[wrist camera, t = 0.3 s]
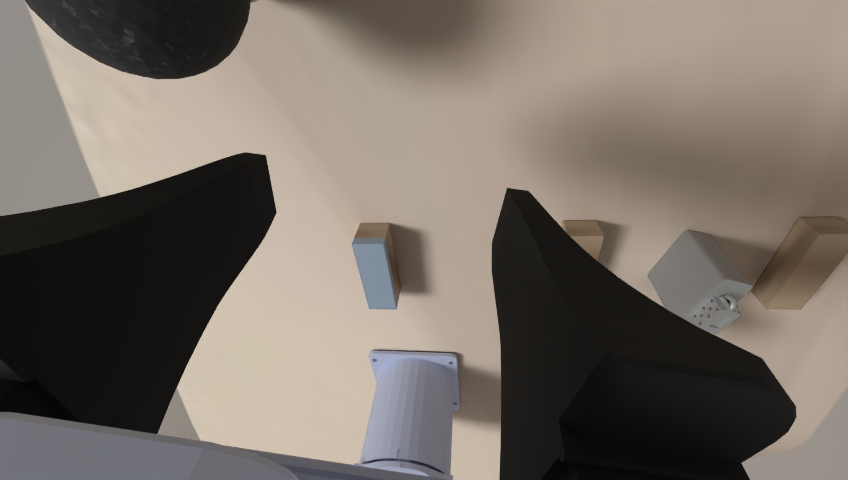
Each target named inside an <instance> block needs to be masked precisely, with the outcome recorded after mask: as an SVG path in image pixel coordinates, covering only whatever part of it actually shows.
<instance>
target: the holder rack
mask: <svg viewBox="0 0 848 480" xmlns="http://www.w3.org/2000/svg"><path fill="white" fill-rule="evenodd" d="M562 228H563V230H564V231H565V232H566V233H567V234H568V235H569V236H570V237H571V238H572V239H573V240H574V241H576V242H577V243H578V244H579V245H580V246H581V247H582V248H583V249H584V250H585V251H586V252H587V253H588V254H590V255H591V256H592V257H593V258H594V259H595V260H597V261H598V258H599V254H600V251H601V247H602V243H603V239H604V234H603V232H602V230H601V228H600V226H599V224H598V221H597V220H581V221H563V223H562ZM352 247H353V251H354V254H355V258H356V262H357V265H358V269H359V273H360V277H361V280H362V284H363V288H364V292H365V295H366V299H367V303H368V307H369V309H397V304H398V299H399V294H400V289H401V285H400V279H399V274H398V268H397V262H396V257H395V251H394V246H393V240H392V234H391V229H390V223H361V224H360V225H359V228H358V230H357V233H356V235H355V237H354V240H353V242H352ZM847 253H848V223H847V222H845V221H844V220H843V219H841V218H840V217H802V218H799V219H798V220H797V222H796V223H795V225H794V226H793V228H792V229H791V231H790V232H789V234H788V235H787V237H786V239H785V240H784V242H783V243H782V245H781V246H780V248H779V249H778V251H777V252H776V254H775V255H774V257H773V258H772V260H771V261H770V263H769V264H768V266H767V267H766V269H765V270H764V272H763V273H762V275H761V277H760V278H759V280H758V281H757V283H756V284H755V286H754V287H753V289H752V290H751V291H752V293H753V294H754V295H755V296H756V298H757V299H758V300H759V301H760V302H761V304H762V305H763V306H764V307H765V308H766V309H792V310H801V309H802V308H803V307H804V306H805V305H806V303H807V302H808V301H809V300H810V298H811V297H812V296H813V295H814V293H815V292H816V291H817V290H818V289H819V287H820V286H821V285H822V284H823V282H824V281H825V280H826V279H827V278H828V276H829V275H830V274H831V273H832V271H833V270H834V269H835V268H836V266H837V265H838V264H839V263H840V262H841V260H842V259H843V258H844V257H845V255H846V254H847Z"/></svg>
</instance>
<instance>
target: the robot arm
mask: <svg viewBox="0 0 848 480" xmlns="http://www.w3.org/2000/svg"><path fill="white" fill-rule="evenodd" d="M275 215H276V207H275V202H274V196H273V191H272V186H271V181H270V175H269V170H268V165H267V159H266V155H260V154H253V153H241V154H237V155H233V156H230V157H227V158H223V159H221V160H218V161H215V162H212V163H209V164H206V165H203V166H201V167H198V168H195V169H192V170H189V171H187V172H184V173H181V174H178V175H175V176H172V177H169V178H166V179H163V180H160V181H157V182H154V183H151V184H148V185H145V186H142V187H138V188H135V189H132V190H128V191H124V192H121V193H117V194H113V195H109V196H105V197H101V198H97V199H93V200H88V201H84V202H79V203H74V204H69V205H63V206H58V207H53V208H48V209H42V210H38V211H32V212H26V213H19V214H12V215H6V216H0V480H453V476H452V475H450V470H451V444H452V419H453V411H458V410H459V409H460V399H459V381H458V362H457V355H455V354H453V353H432V352H403V351H370V353H369V359H370V362H371V366H372V369H373V372H374V375H375V379H376V382H377V385H376V389H375V394H374V398H373V403H372V408H371V412H370V417H369V421H368V426H367V431H366V435H365V440H364V444H363V449H362V454H361V458H360V463H359V464H357V463H355V464H354V465H349V464H343V463H336V462H330V461H323V460H316V459H310V458H303V457H296V456H290V455H283V454H277V453H270V452H263V451H257V450H250V449H244V448H237V447H230V446H224V445H220V444H216V443H212V442H206V441H199V440H192V439H186V438H179V437H173V436H165V435H159V434H157V433H158V430H159V428H160V426H161V423H162V421H163V418H164V416H165V413H166V411H167V408H168V406H169V403H170V401H171V399H172V397H173V394H174V392H175V390H176V388H177V386H178V383H179V381H180V379H181V377H182V375H183V372H184V370H185V368H186V366H187V364H188V362H189V360H190V358H191V356H192V354H193V352H194V350H195V348H196V346H197V344H198V342H199V340H200V338H201V336H202V334H203V332H204V330H205V328H206V326H207V324H208V322H209V321H210V319H211V317H212V315H213V313H214V311H215V310H216V308H217V306H218V304H219V303H220V301H221V300H222V298H223V296H224V295H225V293H226V292H227V290H228V289H229V288H230V286H231V285H232V283H233V282H234V281H235V279H236V278H237V276H238V275H239V273H240V272H241V271H242V269H243V268H244V266H245V265H246V264H247V262H248V261H249V259H250V258H251V257H252V255H253V254H254V252H255V251H256V249H257V248H258V246H259V245H260V244H261V242H262V240H263V239H264V237H265V235H266V233H267V231H268V230H269V228H270V226H271V223H272V221H273V219H274V217H275ZM492 276H493V284H494V292H495V300H496V308H497V315H498V323H499V331H500V343H501V453H500V480H750V479H749V477H748V475H747V473H746V472H745V469H744V468H743V466H742V464H741V463H742V462H743V461H745V460H747V459H748V458H750V457H752V456H753V455H755V454H756V453H758V452H760V451H761V450H763V449H764V448H766V447H768V446H769V445H771V444H773V443H774V442H776V441H777V440H778V439H780V438H781V437H782V436H783V435H785V434H786V433H787V432H788V431H789V429H790V428H791V426H792V424H793V423H794V421H795V419H796V406H795V404H794V403H793V402H792V400H791V399H790V397H789V396H788V395H787V393H786V392H785V390H784V389H783V387H782V386H781V385H780V383H779V382H778V380H777V379H776V378H775V376H774V375H773V373H772V372H771V370H770V369H769V368H768V366H767V365H766V363H765V362H764V361H763V359H762V358H760V357H758V356H756V355H754V354H752V353H750V352H748V351H746V350H744V349H742V348H740V347H738V346H735V345H733V344H731V343H729V342H727V341H725V340H723V339H721V338H719V337H717V336H715V335H713V334H711V333H709V332H707V331H705V330H703V329H701V328H699V327H697V326H695V325H694V324H692V323H690V322H688V321H687V320H685V319H683V318H681V317H679V316H678V315H676V314H674V313H672V312H670V311H669V310H667V309H666V308H664V307H662V306H661V305H659V304H657V303H656V302H654V301H652V300H651V299H649V298H648V297H646V296H645V295H643V294H642V293H640V292H639V291H637V290H636V289H634V288H633V287H631V286H630V285H628V284H627V283H625V282H624V281H623V280H621V279H620V278H618V277H617V276H616V275H614V274H613V273H612V272H611V271H609V270H608V269H607V268H605V267H604V266H603V265H602V264H600V263H599V262H598V261H597V260H595V259H594V258H593V257H592V256H591V255H590V254H588V253H587V252H586V251H585V250H584V249H583V248H582V247H581V246H580V245H579V244H578V243H577V242H576V241H574V240H573V239H572V238H571V237H570V236H569V235H568V234H567V233H566V232H565V231H564V230H563V228H562V227H561V226H560V225H559V224H558V223H557V222H556V221H555V220H554V219H553V218H552V217H551V216H550V214H549V213H548V212H547V211H546V210H545V209H544V208H543V207H542V205H541V204H540V203H539V202H538V201H537V200H536V199H535V198H534V196H533V195H532V194H531V193H530V192H529V191H525V190H518V189H511V188H507V190H506V194H505V198H504V201H503V205H502V209H501V212H500V216H499V219H498V223H497V227H496V230H495V234H494V238H493V241H492Z"/></svg>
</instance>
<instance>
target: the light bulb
mask: <svg viewBox="0 0 848 480" xmlns="http://www.w3.org/2000/svg"><path fill="white" fill-rule="evenodd" d="M25 1H26V3H27V4H28V6H29V7H30V8H31V9H32V10H33V11H34V12H35V13H36V14H37V15H38V16H39V17H40V18H41V19H42V20H43V21H44V22H45V23H46V24H47V25H48V26H49V27H50V28H51V29H52V30H53V31H55V32H56V33H57V34H58V35H59V36H60V37H61V38H63V39H64V40H65V41H67V42H68V43H69V44H71V45H72V46H73V47H75V48H77V49H78V50H80V51H82V52H83V53H85V54H87V55H88V56H90V57H92V58H94V59H95V60H97V61H99V62H101V63H103V64H105V65H108V66H110V67H113V68H115V69H117V70H120V71H123V72H127V73H130V74H134V75H139V76H143V77H149V78H154V79H181V78H185V77H190V76H194V75H197V74H200V73H203V72H206V71H208V70H209V69H211V68H213V67H215V66H217V65H218V64H219V63H220V62H222V61H223V60H224V59H225V58H226V57H228V56H229V55H230V53H231V52H232V51H233V50H234V48H235V47H236V46H237V44H238V42H239V40H240V38H241V36H242V33H243V31H244V28H245V26H246V24H247V21H248V15H249V10H250V3H251V2H255V1H257V0H25Z"/></svg>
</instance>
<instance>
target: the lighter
mask: <svg viewBox="0 0 848 480" xmlns="http://www.w3.org/2000/svg"><path fill="white" fill-rule="evenodd" d="M647 275H648V277H649V279H650V281H651V283H652V285H653V286H654V288H655V290H656V292H657V294H658V296H659V298H660V299H661V301H662V303H663V305H664V307H665V308H666V309H667V310H669V311H670V312H672V313H674V314H676V315H678V316H679V317H681V318H683V319H685V320H687V321H688V322H690V323H692V324H694V325H695V326H697V327H699V328H701V329H703V330H705V331H707V332H710V333H714V334H717V333H719V332H721V331H722V330H723V329H724V328H725V327H727V326H728V325H729V324H730V323H731V322H733V321H734V320H735V319H736V318H737V317H739V316H740V315H741V314H740V313H739V311H738V306H737V301H738V300H740V299H741V298H742V297H743V296H744V295H745V294H746V293H748V292H749V291H750V290H751V289H752V285H751V284H750V282H749V281H748V280H747V279H746V278H745V276H744V275H743V274H742V273H741V272H740V270H739V269H738V268H737V267H736V266H735V264H734V263H733V262H732V261H731V260H730V258H729V257H728V256H727V255H726V254H725V252H724V251H723V250H722V249H721V248H720V246H719V245H718V244H717V243H716V242H715V240H714V239H713V238H712V237H711V236H710V235H708V234H704V233H699V232H695V231H691V230H687V231H684V232H683V233H682V235H681V236H680V237H679V238H678V239H677V240H676V242H675V243H674V244H673V245H672V246H671V247H670V249H669V250H668V251H667V252H666V253H665V254H664V256H663V257H662V258H661V259H660V260H659V261H658V263H657V264H656V265H655V266H654V267H653V268H652V270H651V271H650V272H649V273H648V274H647Z"/></svg>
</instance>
